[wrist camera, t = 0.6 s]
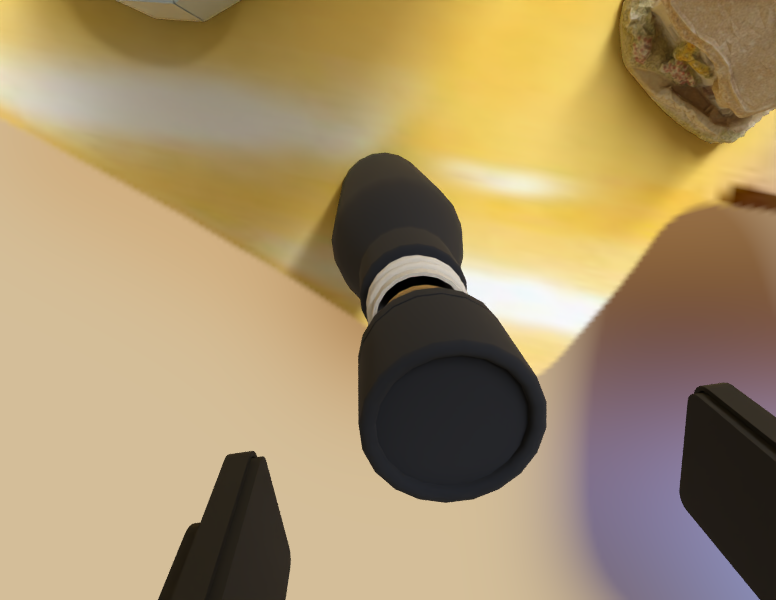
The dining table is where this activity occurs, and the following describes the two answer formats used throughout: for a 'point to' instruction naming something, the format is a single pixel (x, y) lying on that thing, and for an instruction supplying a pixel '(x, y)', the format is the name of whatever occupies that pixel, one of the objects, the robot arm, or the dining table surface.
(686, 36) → the ceramic model
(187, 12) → the bowl
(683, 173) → the dining table surface
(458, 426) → the black water bottle
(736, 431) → the robot arm
